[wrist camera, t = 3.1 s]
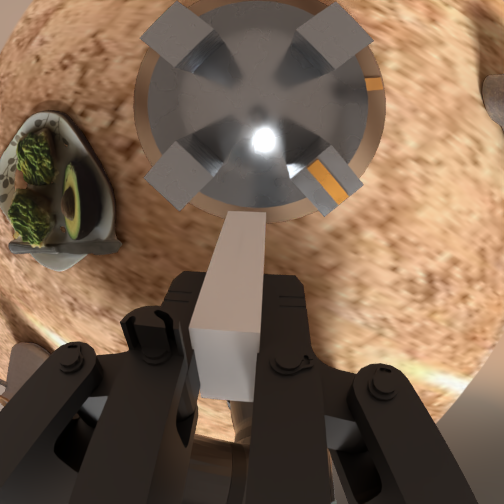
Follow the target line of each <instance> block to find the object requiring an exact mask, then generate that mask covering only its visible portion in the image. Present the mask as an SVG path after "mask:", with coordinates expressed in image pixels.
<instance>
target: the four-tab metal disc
mask: <svg viewBox="0 0 504 504" xmlns="http://www.w3.org/2000/svg"><path fill="white" fill-rule="evenodd" d="M140 39H141V40H142V41H143V42H145V43H146V44H147V45H148V46H150V47H151V48H152V49H153V50H154V51H156V52H157V53H158V54H159V55H160V57H159V59H158V61H157V63H156V65H155V67H154V70H153V73H152V77H151V80H150V85H149V90H148V105H147V107H148V117H149V123H150V127H151V132H152V135H153V137H154V140H155V142H156V145H157V147H158V149H159V151H160V152H161V154H162V157H161V158H160V159H159V160H158V161H157V162H156V164H155V165H154V166H153V167H152V168H151V169H150V171H149V172H148V173H147V174H146V176H145V177H144V179H145V180H146V181H147V182H148V183H149V184H150V185H152V186H153V187H154V188H155V189H156V190H157V191H158V192H159V193H160V194H161V195H162V196H163V197H164V198H165V199H167V200H168V201H169V202H170V203H171V204H172V205H173V206H174V207H175V208H176V209H177V210H178V211H181V210H182V209H183V208H184V206H185V205H186V204H187V203H188V202H189V201H190V200H191V199H192V198H193V197H194V196H195V195H196V194H197V193H198V192H200V193H202V194H204V195H206V196H208V197H210V198H212V199H215V200H218V201H221V202H223V203H226V204H231V205H235V206H240V207H250V208H269V207H276V206H282V205H286V204H290V203H294V202H297V201H299V200H302V199H304V198H308V199H309V200H310V201H311V203H312V204H313V205H314V206H315V207H316V208H317V209H318V210H319V212H320V213H321V214H322V215H323V216H324V217H325V216H326V215H327V214H328V213H330V212H331V211H332V210H333V209H335V208H336V207H337V206H338V205H340V204H341V203H342V202H343V201H345V200H346V199H347V198H348V197H350V196H351V195H352V194H353V193H354V192H356V191H357V190H358V189H359V188H361V187H362V186H363V183H362V182H361V181H360V180H359V178H358V177H357V176H356V174H355V173H354V172H353V171H352V169H351V168H350V167H349V166H348V164H349V163H350V161H351V160H352V158H353V156H354V155H355V153H356V151H357V149H358V147H359V145H360V143H361V140H362V138H363V135H364V131H365V128H366V123H367V116H368V94H367V87H366V82H365V79H364V75H363V72H362V69H361V67H360V65H359V63H358V60H357V58H356V56H355V54H357V53H358V52H359V51H361V50H362V49H363V48H365V47H366V46H367V45H369V44H370V43H372V42H373V41H374V40H373V39H372V38H371V37H370V36H369V35H368V34H367V33H366V32H365V30H364V29H363V28H362V27H361V26H360V25H359V24H358V23H357V22H356V21H355V20H354V19H353V18H352V17H351V16H350V15H349V14H348V13H347V12H346V11H345V10H344V9H343V8H342V7H341V6H340V5H339V4H338V3H337V2H334V3H333V4H331V5H330V6H328V7H327V8H325V9H324V10H322V11H321V12H320V13H318V14H317V15H315V16H314V15H312V14H310V13H308V12H306V11H304V10H302V9H299V8H297V7H294V6H291V5H287V4H283V3H278V2H272V1H243V2H237V3H232V4H227V5H224V6H221V7H218V8H215V9H213V10H211V11H208V12H206V13H204V14H202V15H200V16H199V17H198V16H197V15H196V14H194V13H193V12H192V11H190V10H189V9H188V8H186V7H185V6H184V5H182V4H181V3H179V2H178V1H176V2H175V3H174V4H173V5H172V6H171V7H170V8H168V9H167V10H166V11H165V12H164V13H163V14H162V15H161V16H160V17H159V18H158V19H157V20H156V21H155V22H154V23H153V24H152V25H151V26H150V27H149V29H148V30H147V31H146V32H145V33H144V34H143V35H142V36H141V37H140Z"/></svg>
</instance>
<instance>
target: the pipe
mask: <svg viewBox="0 0 504 504" xmlns="http://www.w3.org/2000/svg"><path fill="white" fill-rule="evenodd" d="M482 94H483V100H484V104H485V107H486V110H487V112H488V114H489V116H490V118H491V119H492V120H493V121H495V122H496V123H497V124H499V125H500V126H502V128H503V131H504V74H500V75H488V76H487V77H486V78H485V80H484V82H483V87H482Z"/></svg>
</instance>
